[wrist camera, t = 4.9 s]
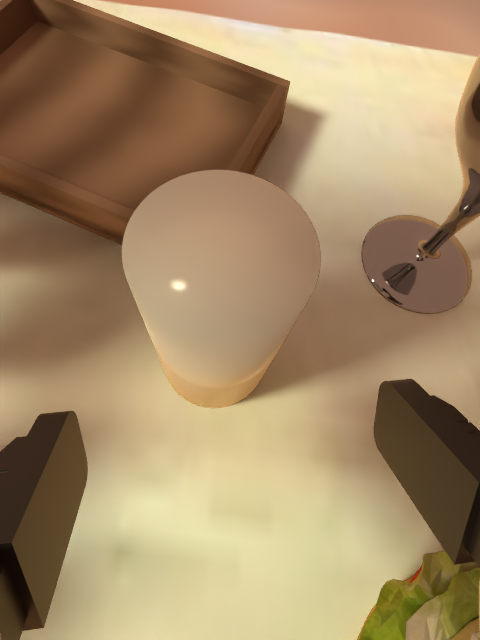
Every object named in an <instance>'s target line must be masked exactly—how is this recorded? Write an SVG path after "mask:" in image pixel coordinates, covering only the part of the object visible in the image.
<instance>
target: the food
mask: <svg viewBox="0 0 480 640" xmlns="http://www.w3.org/2000/svg"><path fill="white" fill-rule="evenodd" d="M479 578H480V568H479V566H478V565H477V563H476V562H470V563H463V564H457V565H454V564H453V562H452V560H451V559H450V557H449V556H448V554H447V553H446V551H442V552H437V553H429V554H425V555H424V557H423V564H422V566H421V567H420V569H419V570H418V571H417V573H416V574H415V575H414V576H412V577H411V578H409V579H407V580H406V581H400V580H395V579H393V580H390V581H387V582H386V583H385V585H384V586H383V587H382V589H381V592H380V595H379V598H378V601H377V604H376V605H375V606H374V607H373V608H372V610H371V612H370V613H369V615H368V617H367V619H366V621H365V623H364V625H363V627H362V630H361V632H360V634H359V636H358V639H357V640H479Z"/></svg>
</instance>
